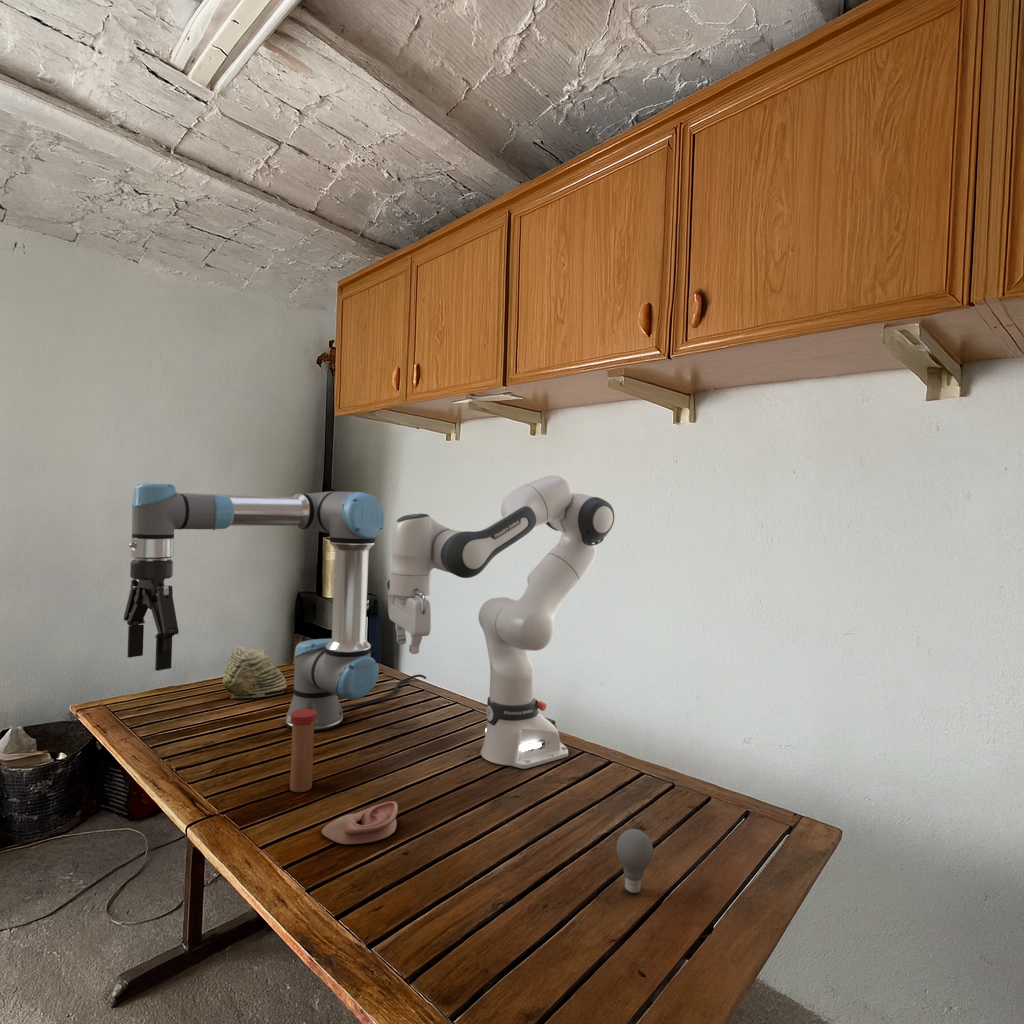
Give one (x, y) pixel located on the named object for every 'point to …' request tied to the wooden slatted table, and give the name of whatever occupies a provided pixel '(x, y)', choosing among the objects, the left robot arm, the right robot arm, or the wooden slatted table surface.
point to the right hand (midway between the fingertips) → (407, 648)
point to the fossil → (252, 674)
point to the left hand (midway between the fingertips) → (148, 662)
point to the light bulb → (634, 857)
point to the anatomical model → (364, 825)
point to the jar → (302, 757)
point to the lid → (303, 716)
